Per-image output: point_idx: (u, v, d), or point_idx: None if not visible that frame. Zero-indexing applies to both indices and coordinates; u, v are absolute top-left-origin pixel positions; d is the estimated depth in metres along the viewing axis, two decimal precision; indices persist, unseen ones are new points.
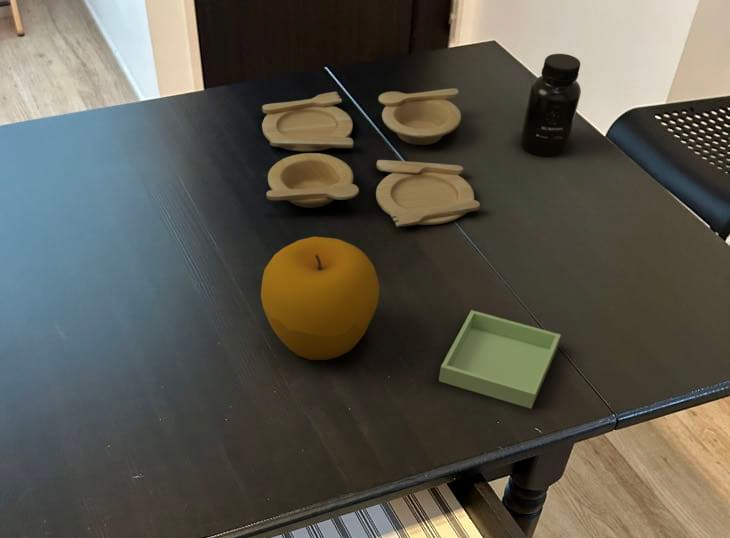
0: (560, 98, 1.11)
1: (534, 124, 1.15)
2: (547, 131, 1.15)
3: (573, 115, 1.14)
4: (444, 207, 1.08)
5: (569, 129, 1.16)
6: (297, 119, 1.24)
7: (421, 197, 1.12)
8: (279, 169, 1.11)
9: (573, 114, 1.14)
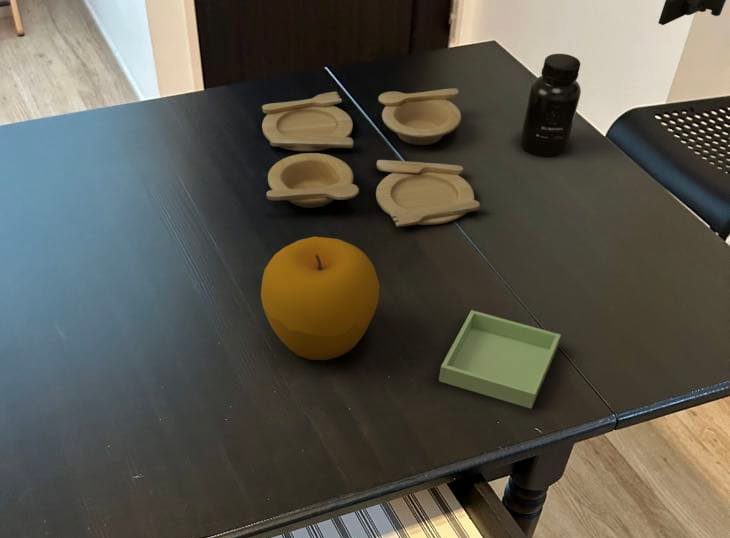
0: (560, 98, 1.11)
1: (534, 124, 1.15)
2: (547, 131, 1.15)
3: (573, 115, 1.14)
4: (444, 207, 1.08)
5: (569, 129, 1.16)
6: (297, 119, 1.24)
7: (421, 197, 1.12)
8: (279, 169, 1.11)
9: (573, 114, 1.14)
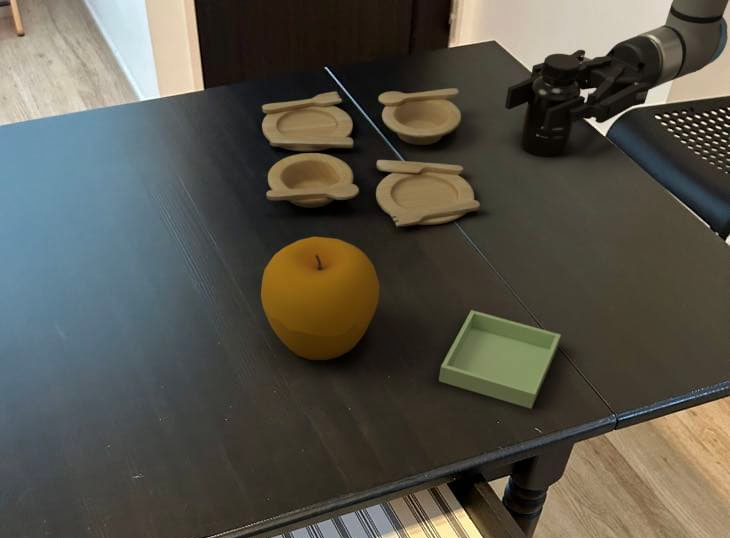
0: (560, 97, 1.11)
1: (533, 124, 1.15)
2: None
3: None
4: (444, 207, 1.08)
5: (569, 129, 1.16)
6: (297, 119, 1.24)
7: (421, 197, 1.12)
8: (279, 169, 1.11)
9: None
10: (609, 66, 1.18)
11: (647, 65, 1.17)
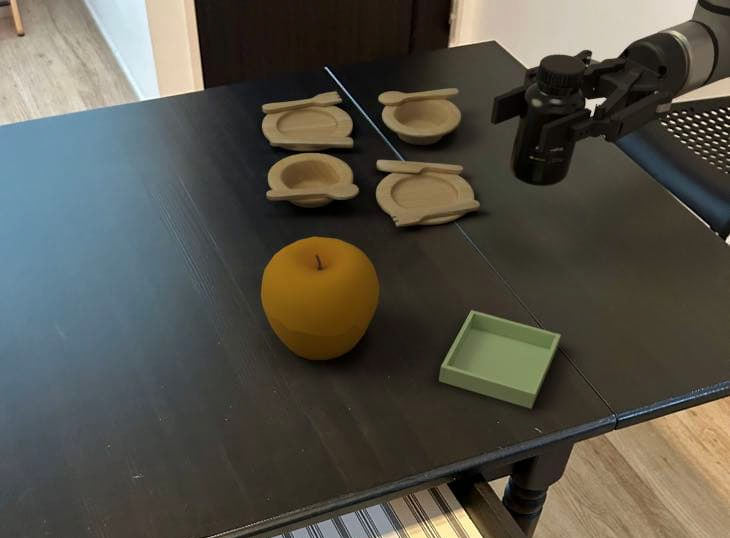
0: (560, 110, 0.87)
1: (526, 143, 0.91)
2: None
3: None
4: (444, 207, 1.08)
5: (571, 149, 0.92)
6: (297, 119, 1.24)
7: (421, 197, 1.12)
8: (279, 169, 1.11)
9: None
10: (622, 70, 0.94)
11: (670, 69, 0.93)
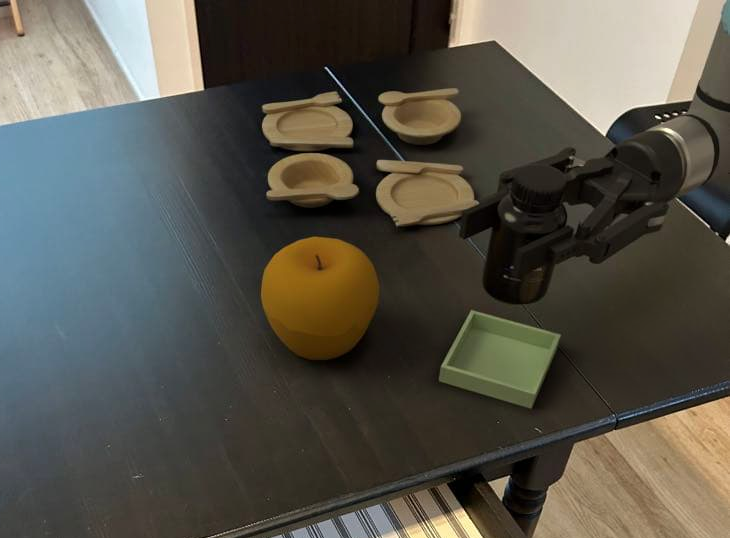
0: (537, 230, 0.76)
1: (500, 261, 0.80)
2: None
3: None
4: (444, 207, 1.08)
5: (551, 268, 0.80)
6: (297, 119, 1.24)
7: (421, 197, 1.12)
8: (279, 169, 1.11)
9: None
10: (610, 174, 0.82)
11: (664, 174, 0.81)
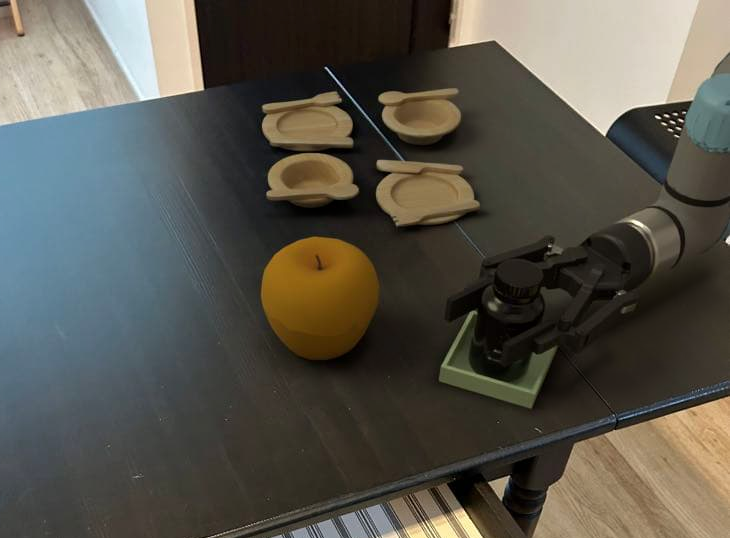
0: (517, 319, 0.83)
1: (484, 345, 0.87)
2: None
3: None
4: (444, 207, 1.08)
5: None
6: (297, 119, 1.24)
7: (421, 197, 1.12)
8: (279, 169, 1.11)
9: None
10: (584, 264, 0.90)
11: (633, 265, 0.88)
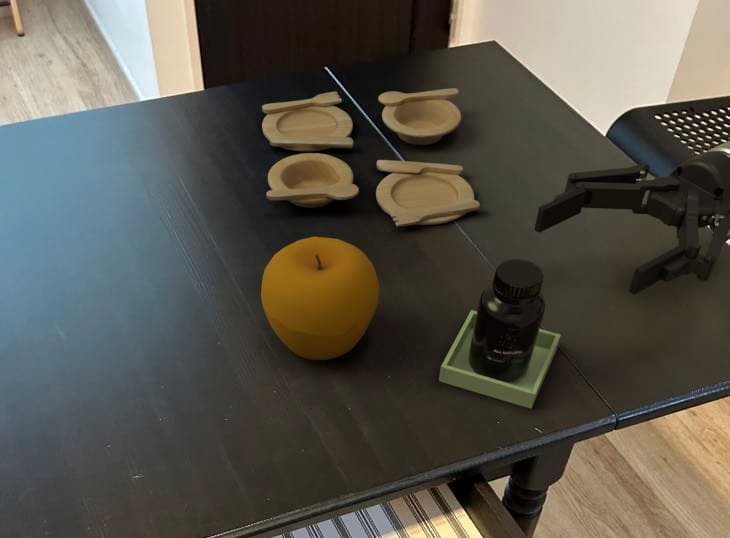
0: (517, 319, 0.83)
1: (484, 345, 0.87)
2: (501, 355, 0.87)
3: (536, 335, 0.86)
4: (444, 207, 1.08)
5: (531, 350, 0.88)
6: (297, 119, 1.24)
7: (421, 197, 1.12)
8: (279, 169, 1.11)
9: (536, 334, 0.86)
10: (674, 191, 0.91)
11: (726, 191, 0.90)
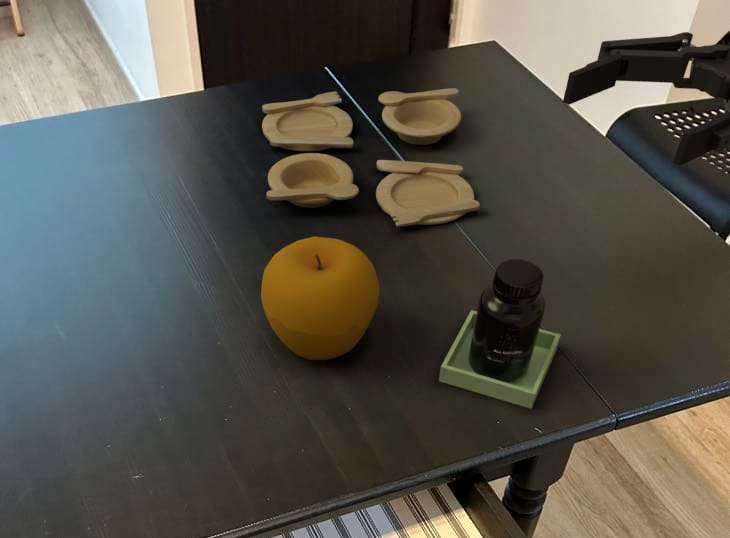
0: (517, 319, 0.83)
1: (484, 345, 0.87)
2: (501, 355, 0.87)
3: (536, 335, 0.86)
4: (444, 207, 1.08)
5: (531, 350, 0.88)
6: (297, 119, 1.24)
7: (421, 197, 1.12)
8: (279, 169, 1.11)
9: (536, 334, 0.86)
10: (722, 59, 0.80)
11: None
